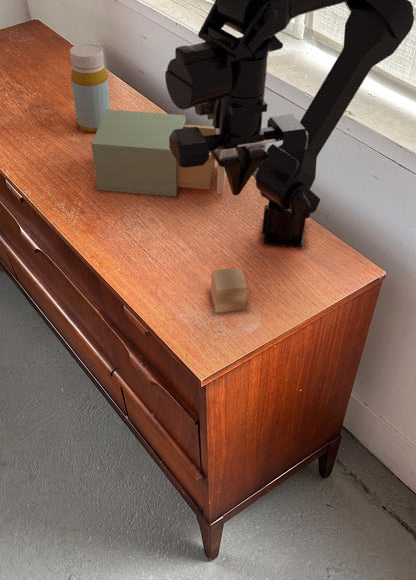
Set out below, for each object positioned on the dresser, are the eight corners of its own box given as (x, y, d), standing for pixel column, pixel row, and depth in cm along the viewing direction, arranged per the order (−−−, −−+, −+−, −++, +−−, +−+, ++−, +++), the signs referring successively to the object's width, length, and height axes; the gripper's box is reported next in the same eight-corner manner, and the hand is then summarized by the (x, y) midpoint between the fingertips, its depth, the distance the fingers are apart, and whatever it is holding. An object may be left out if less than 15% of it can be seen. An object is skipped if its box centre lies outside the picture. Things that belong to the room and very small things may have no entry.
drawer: (253, 163, 120) (256, 126, 115) (249, 196, 113) (252, 159, 107) (159, 155, 121) (157, 119, 116) (149, 188, 113) (147, 151, 108)
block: (239, 290, 97) (241, 267, 94) (245, 310, 94) (247, 287, 91) (210, 292, 96) (211, 270, 93) (215, 312, 94) (216, 290, 90)
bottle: (105, 135, 127) (97, 59, 116) (72, 131, 128) (61, 55, 117) (116, 119, 132) (109, 44, 120) (84, 115, 133) (75, 40, 121)
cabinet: (185, 160, 122) (185, 115, 115) (176, 196, 113) (175, 150, 107) (111, 154, 123) (106, 109, 116) (96, 190, 114) (91, 143, 107)
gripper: (284, 56, 89) (272, 157, 100) (157, 70, 84) (160, 174, 96) (318, 91, 82) (301, 195, 93) (181, 108, 77) (181, 215, 89)
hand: (235, 193), depth 93 cm, fingers closed
